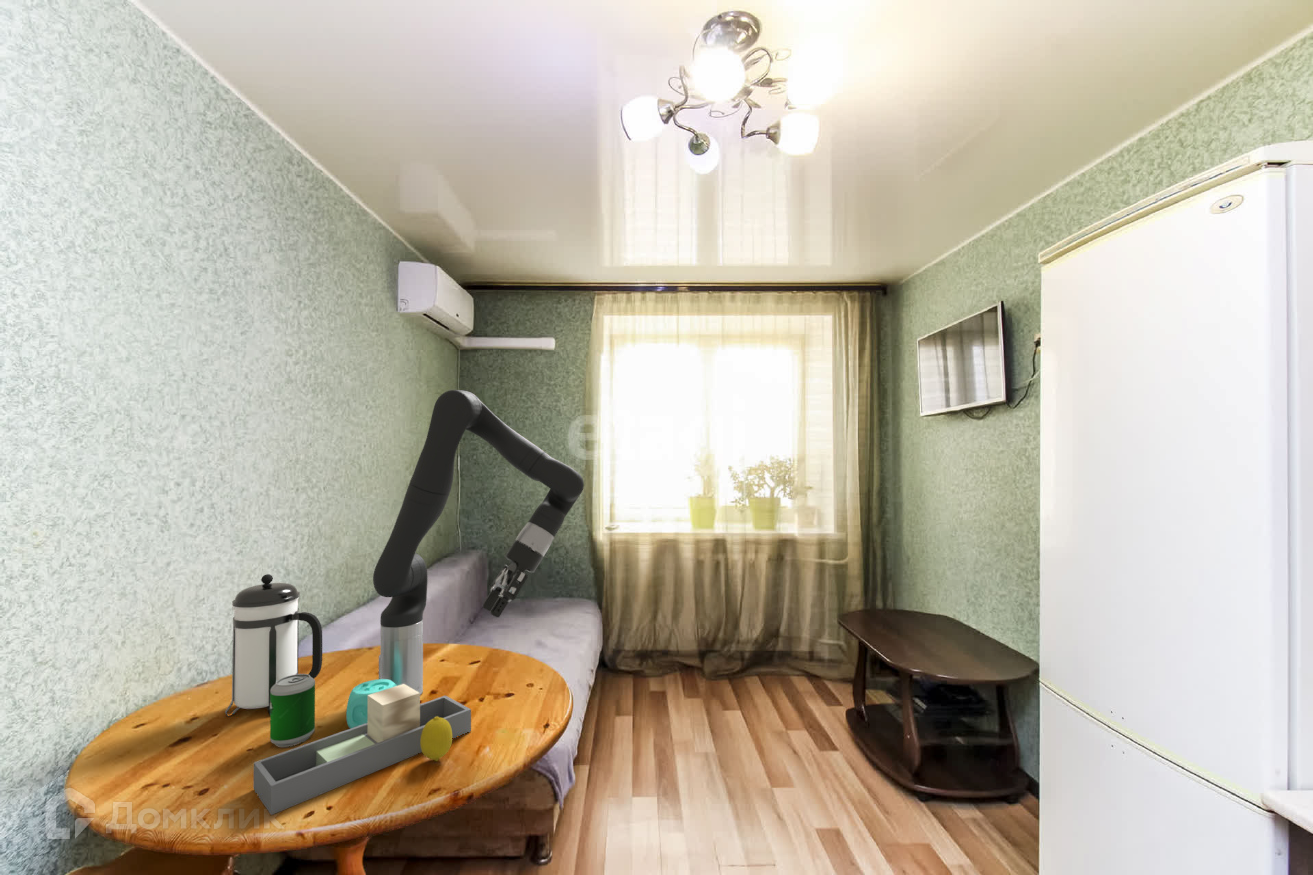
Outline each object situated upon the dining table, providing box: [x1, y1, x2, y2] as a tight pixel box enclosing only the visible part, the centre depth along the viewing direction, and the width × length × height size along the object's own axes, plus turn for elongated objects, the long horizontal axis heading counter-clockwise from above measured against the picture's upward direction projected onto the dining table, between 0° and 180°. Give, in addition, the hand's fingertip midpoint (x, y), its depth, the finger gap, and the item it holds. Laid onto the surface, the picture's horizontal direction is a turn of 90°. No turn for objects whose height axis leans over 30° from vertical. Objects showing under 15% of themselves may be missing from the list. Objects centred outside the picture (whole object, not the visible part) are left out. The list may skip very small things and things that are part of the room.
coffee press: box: [224, 573, 323, 717], centre depth 128 cm, size 17×16×30 cm
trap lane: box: [252, 695, 472, 816], centre depth 104 cm, size 35×11×4 cm, turn 138°
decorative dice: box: [345, 678, 397, 729], centre depth 117 cm, size 8×8×8 cm
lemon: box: [420, 716, 453, 762], centre depth 103 cm, size 6×6×8 cm
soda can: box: [269, 673, 316, 748], centre depth 112 cm, size 8×8×12 cm
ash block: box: [367, 684, 421, 743], centre depth 107 cm, size 7×7×8 cm
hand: (489, 612), depth 121 cm, fingers open, 8 cm apart
